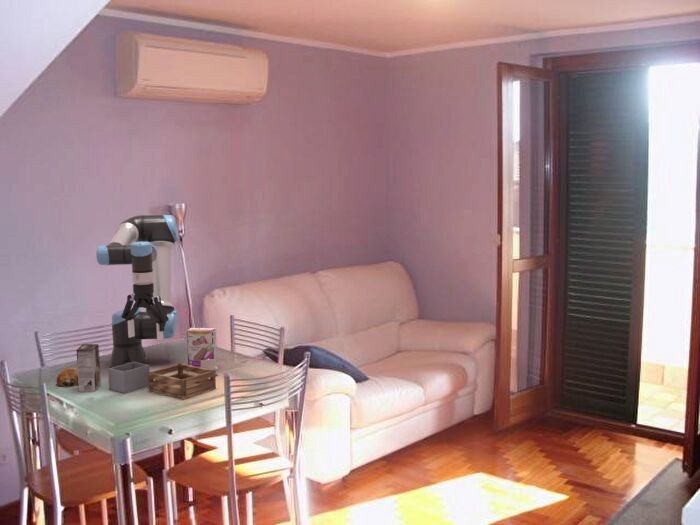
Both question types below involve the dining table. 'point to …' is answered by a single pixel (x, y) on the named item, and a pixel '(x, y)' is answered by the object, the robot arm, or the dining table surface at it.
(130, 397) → the dining table surface
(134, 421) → the dining table surface
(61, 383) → the bread roll
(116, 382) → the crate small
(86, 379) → the coffee box
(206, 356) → the candy bar box
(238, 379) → the dining table surface
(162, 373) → the crate big
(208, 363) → the architectural model
